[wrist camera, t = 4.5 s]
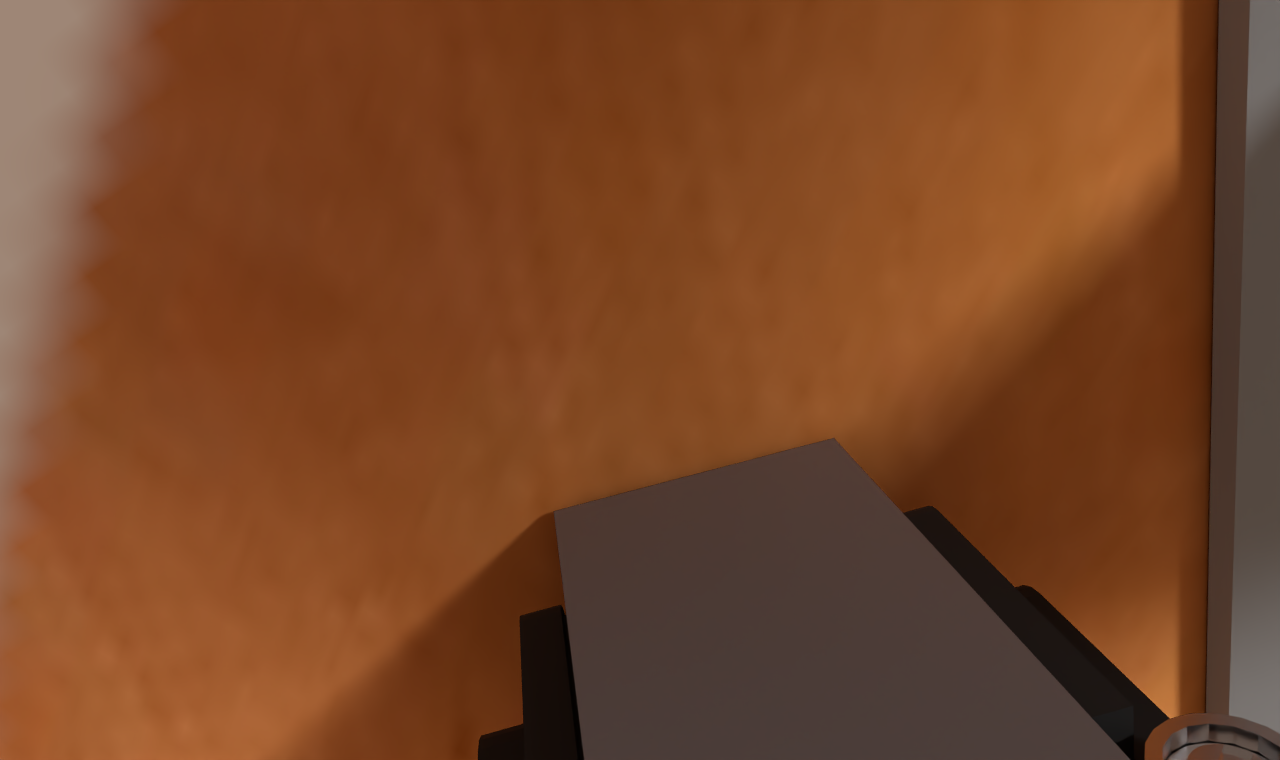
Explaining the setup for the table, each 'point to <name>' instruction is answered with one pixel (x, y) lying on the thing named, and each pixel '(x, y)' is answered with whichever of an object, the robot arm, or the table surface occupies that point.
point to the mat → (1246, 371)
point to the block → (793, 628)
